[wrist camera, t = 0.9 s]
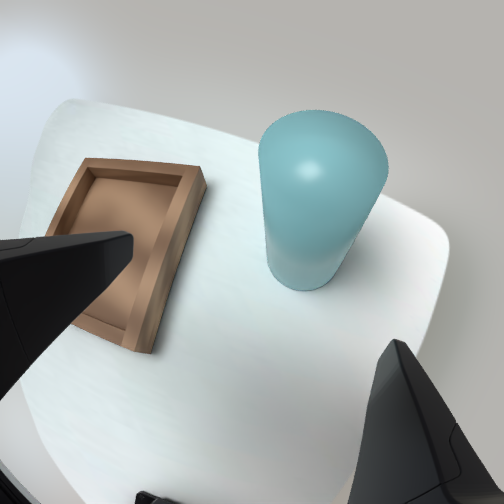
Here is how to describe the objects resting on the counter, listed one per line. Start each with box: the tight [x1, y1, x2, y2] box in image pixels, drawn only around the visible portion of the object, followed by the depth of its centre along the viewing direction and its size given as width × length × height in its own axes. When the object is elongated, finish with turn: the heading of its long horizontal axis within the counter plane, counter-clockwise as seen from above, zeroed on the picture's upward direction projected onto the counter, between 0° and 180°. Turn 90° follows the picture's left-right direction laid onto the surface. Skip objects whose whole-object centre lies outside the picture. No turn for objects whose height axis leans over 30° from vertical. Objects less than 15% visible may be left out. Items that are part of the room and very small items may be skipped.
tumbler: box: [258, 110, 389, 291], centre depth 18 cm, size 6×6×12 cm
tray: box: [45, 158, 207, 354], centre depth 24 cm, size 16×14×3 cm
